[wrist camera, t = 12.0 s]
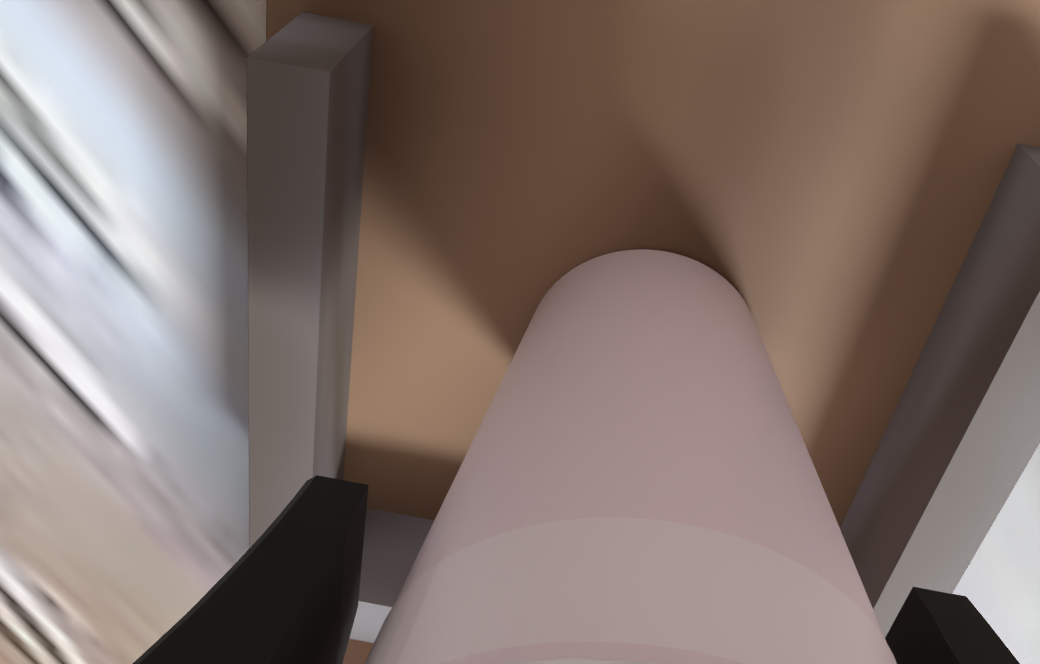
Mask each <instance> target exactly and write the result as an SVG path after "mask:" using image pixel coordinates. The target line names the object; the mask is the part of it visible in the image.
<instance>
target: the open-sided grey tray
mask: <svg viewBox="0 0 1040 664" xmlns="http://www.w3.org/2000/svg"><path fill="white" fill-rule="evenodd" d="M247 180H248V358H249V537H250V547H251V546H252V545H253V544H254V543H255V542H256V541H257V540H258V539H259V537H260V536H261V535H262V534H263V533H264V532H265V531H266V530H267V528H268V527H269V526H270V525H271V524H272V523H273V522H274V520H275V519H276V518H277V517H278V516H279V515H280V513H281V512H282V511H283V510H284V508H285V507H286V506H287V505H288V504H289V502H290V501H291V500H292V499H293V498H294V496H295V495H296V494H297V492H298V491H299V490H300V489H301V487H302V486H303V485H304V483H305V482H306V481H307V480H309V479H311V478H312V477H314V476H316V475H318V476H324V477H329V478H334V479H340V480H345V481H350V482H356V483H361V484H366V485H368V497H367V508H366V520H365V532H364V543H363V555H362V567H361V578H360V590H359V602H358V608H357V612H356V616H355V619H354V623H353V627H352V630H351V634H350V638H349V641H348V645H347V649H346V653H345V656H344V660H343V663H342V664H365V662H366V660H367V657H368V655H369V653H370V651H371V649H372V647H373V644H374V642H375V640H376V638H377V636H378V634H379V631H380V629H381V627H382V625H383V623H384V620H385V619H386V617H387V615H388V614H389V612H390V611H391V609H392V607H393V605H394V603H395V601H396V599H397V597H398V595H399V593H400V591H401V588H402V586H403V584H404V582H405V580H406V578H407V576H408V574H409V572H410V570H411V568H412V566H413V564H414V562H415V560H416V557H417V555H418V553H419V551H420V549H421V547H422V545H423V543H424V541H425V539H426V537H427V535H428V533H429V531H430V528H431V526H432V524H433V522H434V520H435V518H436V516H437V514H438V512H439V510H440V508H441V506H442V504H443V502H444V500H445V497H446V495H447V493H448V491H449V489H450V487H451V485H452V483H453V481H454V479H455V477H456V475H457V473H458V471H459V468H460V466H461V464H462V462H463V460H464V458H465V456H466V454H467V452H468V450H469V448H470V446H471V444H472V442H473V440H474V437H475V435H476V433H477V431H478V429H479V427H480V425H481V423H482V421H483V419H484V417H485V415H486V413H487V411H488V408H489V406H490V404H491V402H492V400H493V398H494V396H495V394H496V392H497V390H498V388H499V386H500V384H501V382H502V380H503V377H504V375H505V373H506V371H507V369H508V367H509V365H510V363H511V361H512V359H513V357H514V355H515V353H516V351H517V348H518V346H519V344H520V342H521V340H522V338H523V336H524V334H525V332H526V330H527V328H528V326H529V324H530V322H531V320H532V317H533V315H534V313H535V311H536V309H537V307H538V305H539V304H540V302H541V300H542V298H543V297H544V296H545V294H546V293H547V292H548V290H549V289H550V288H551V287H552V286H553V285H554V284H555V283H556V282H557V281H558V280H559V279H560V278H561V277H562V276H563V275H565V274H566V273H568V272H569V271H570V270H572V269H573V268H575V267H577V266H579V265H580V264H582V263H584V262H586V261H589V260H591V259H593V258H596V257H599V256H602V255H605V254H609V253H613V252H618V251H625V250H637V249H645V250H659V251H666V252H671V253H675V254H679V255H682V256H686V257H688V258H691V259H693V260H696V261H698V262H700V263H702V264H704V265H706V266H708V267H709V268H711V269H712V270H714V271H716V272H717V273H718V274H720V275H721V276H722V277H724V278H725V279H726V280H727V281H728V282H729V283H730V284H731V285H732V286H733V287H734V288H735V289H736V290H737V291H738V293H739V294H740V295H741V297H742V298H743V299H744V301H745V302H746V304H747V306H748V308H749V310H750V312H751V314H752V316H753V319H754V321H755V324H756V326H757V329H758V331H759V333H760V336H761V338H762V341H763V343H764V346H765V348H766V350H767V353H768V355H769V358H770V360H771V363H772V365H773V367H774V370H775V372H776V375H777V377H778V380H779V382H780V384H781V387H782V389H783V392H784V394H785V397H786V399H787V401H788V404H789V406H790V409H791V411H792V414H793V416H794V418H795V421H796V423H797V426H798V428H799V431H800V433H801V435H802V438H803V440H804V443H805V445H806V448H807V450H808V452H809V455H810V457H811V460H812V462H813V465H814V467H815V469H816V472H817V474H818V477H819V479H820V482H821V484H822V486H823V489H824V491H825V494H826V496H827V499H828V501H829V503H830V506H831V508H832V511H833V513H834V516H835V518H836V520H837V523H838V525H839V528H840V530H841V533H842V535H843V537H844V540H845V542H846V545H847V547H848V550H849V552H850V554H851V557H852V559H853V562H854V564H855V567H856V569H857V571H858V574H859V576H860V579H861V581H862V584H863V586H864V588H865V591H866V593H867V596H868V598H869V601H870V603H871V605H872V608H873V610H874V613H875V615H876V618H877V620H878V622H879V625H880V627H881V630H882V632H883V635H884V637H886V635H887V633H888V632H889V630H890V628H891V626H892V624H893V622H894V621H895V619H896V617H897V615H898V613H899V611H900V610H901V608H902V606H903V604H904V602H905V600H906V599H907V597H908V595H909V593H910V591H911V589H912V588H913V587H918V588H923V589H929V590H934V591H939V592H945V593H950V594H952V593H953V591H954V589H955V588H956V586H957V584H958V582H959V581H960V579H961V577H962V576H963V574H964V572H965V570H966V569H967V567H968V565H969V564H970V562H971V560H972V558H973V557H974V555H975V553H976V552H977V550H978V548H979V546H980V545H981V543H982V541H983V539H984V538H985V536H986V534H987V533H988V531H989V529H990V527H991V526H992V524H993V522H994V521H995V519H996V517H997V515H998V514H999V512H1000V510H1001V508H1002V507H1003V505H1004V503H1005V502H1006V500H1007V498H1008V496H1009V495H1010V493H1011V491H1012V490H1013V488H1014V486H1015V484H1016V483H1017V481H1018V479H1019V478H1020V476H1021V474H1022V472H1023V471H1024V469H1025V467H1026V465H1027V464H1028V462H1029V460H1030V459H1031V457H1032V455H1033V453H1034V452H1035V450H1036V448H1037V447H1038V445H1039V443H1040V0H267V14H266V42H265V43H264V44H263V45H262V46H260V47H259V48H258V49H257V50H256V51H254V52H253V53H252V54H251V55H249V56H248V57H247Z"/></svg>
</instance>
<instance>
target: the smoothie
mask: <svg viewBox="0 0 1040 664" xmlns="http://www.w3.org/2000/svg"><path fill="white" fill-rule="evenodd" d="M365 664H897V663H896V660H895V657H894V655H893V653H892V652H891V650H890V648H889V646H888V644H887V642H886V639H885V637H884V635H883V632H882V630H881V627H880V625H879V622H878V620H877V618H876V615H875V613H874V610H873V608H872V605H871V603H870V601H869V598H868V596H867V593H866V591H865V588H864V586H863V584H862V581H861V579H860V576H859V574H858V571H857V569H856V567H855V564H854V562H853V559H852V557H851V554H850V552H849V550H848V547H847V545H846V542H845V540H844V537H843V535H842V533H841V530H840V528H839V525H838V523H837V520H836V518H835V516H834V513H833V511H832V508H831V506H830V503H829V501H828V499H827V496H826V494H825V491H824V489H823V486H822V484H821V482H820V479H819V477H818V474H817V472H816V469H815V467H814V465H813V462H812V460H811V457H810V455H809V452H808V450H807V448H806V445H805V443H804V440H803V438H802V435H801V433H800V431H799V428H798V426H797V423H796V421H795V418H794V416H793V414H792V411H791V409H790V406H789V404H788V401H787V399H786V397H785V394H784V392H783V389H782V387H781V384H780V382H779V380H778V377H777V375H776V372H775V370H774V367H773V365H772V363H771V360H770V358H769V355H768V353H767V350H766V348H765V346H764V343H763V341H762V338H761V336H760V333H759V331H758V329H757V326H756V324H755V321H754V319H753V316H752V314H751V312H750V310H749V308H748V306H747V304H746V302H745V301H744V299H743V298H742V297H741V295H740V294H739V293H738V291H737V290H736V289H735V288H734V287H733V286H732V285H731V284H730V283H729V282H728V281H727V280H726V279H725V278H724V277H722V276H721V275H720V274H718V273H717V272H716V271H714V270H712V269H711V268H709V267H708V266H706V265H704V264H702V263H700V262H698V261H696V260H693V259H691V258H688V257H686V256H682V255H679V254H675V253H671V252H666V251H659V250H645V249H637V250H625V251H618V252H613V253H609V254H605V255H602V256H599V257H596V258H593V259H591V260H589V261H586V262H584V263H582V264H580V265H579V266H577V267H575V268H573V269H572V270H570V271H569V272H568V273H566V274H565V275H563V276H562V277H561V278H560V279H559V280H558V281H557V282H556V283H555V284H554V285H553V286H552V287H551V288H550V289H549V290H548V292H547V293H546V294H545V296H544V297H543V298H542V300H541V302H540V304H539V305H538V307H537V309H536V311H535V313H534V315H533V317H532V320H531V322H530V324H529V326H528V328H527V330H526V332H525V334H524V336H523V338H522V340H521V342H520V344H519V346H518V348H517V351H516V353H515V355H514V357H513V359H512V361H511V363H510V365H509V367H508V369H507V371H506V373H505V375H504V377H503V380H502V382H501V384H500V386H499V388H498V390H497V392H496V394H495V396H494V398H493V400H492V402H491V404H490V406H489V408H488V411H487V413H486V415H485V417H484V419H483V421H482V423H481V425H480V427H479V429H478V431H477V433H476V435H475V437H474V440H473V442H472V444H471V446H470V448H469V450H468V452H467V454H466V456H465V458H464V460H463V462H462V464H461V466H460V468H459V471H458V473H457V475H456V477H455V479H454V481H453V483H452V485H451V487H450V489H449V491H448V493H447V495H446V497H445V500H444V502H443V504H442V506H441V508H440V510H439V512H438V514H437V516H436V518H435V520H434V522H433V524H432V526H431V528H430V531H429V533H428V535H427V537H426V539H425V541H424V543H423V545H422V547H421V549H420V551H419V553H418V555H417V557H416V560H415V562H414V564H413V566H412V568H411V570H410V572H409V574H408V576H407V578H406V580H405V582H404V584H403V586H402V588H401V591H400V593H399V595H398V597H397V599H396V601H395V603H394V605H393V607H392V609H391V611H390V612H389V614H388V615H387V617H386V619H385V620H384V623H383V625H382V627H381V629H380V631H379V634H378V636H377V638H376V640H375V642H374V644H373V647H372V649H371V651H370V653H369V655H368V657H367V660H366V662H365Z"/></svg>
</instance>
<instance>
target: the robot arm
mask: <svg viewBox="0 0 1040 664" xmlns="http://www.w3.org/2000/svg"><path fill="white" fill-rule="evenodd" d="M367 497H368V485H366V484H361V483H356V482H350V481H345V480H340V479H334V478H329V477H324V476H318V475H316V476H314V477H312V478H311V479H309V480H307V481H306V482H305V483H304V485H303V486H302V487H301V489H300V490H299V491H298V492H297V494H296V495H295V496H294V498H293V499H292V500H291V501H290V502H289V504H288V505H287V506H286V507H285V508H284V510H283V511H282V512H281V513H280V515H279V516H278V517H277V518H276V519H275V520H274V522H273V523H272V524H271V525H270V526H269V527H268V528H267V530H266V531H265V532H264V533H263V534H262V535H261V536H260V537H259V539H258V540H257V541H256V542H255V543H254V544H253V545H252V546H251V547H250V549H249V550H248V551H247V552H246V553H245V554H244V555H243V556H242V557H241V558H240V560H239V561H238V562H237V563H236V564H235V565H234V566H233V567H232V568H231V569H230V570H229V571H228V572H227V573H226V574H225V575H224V576H223V577H222V578H221V579H220V580H219V581H218V582H217V583H216V584H215V585H214V586H213V587H212V588H211V589H210V590H209V591H208V593H207V594H206V595H205V596H204V597H203V598H202V599H201V600H200V601H199V602H198V603H197V604H196V605H195V606H194V607H193V608H192V609H191V610H190V611H189V612H188V613H187V614H186V615H185V616H184V617H183V618H182V619H180V620H179V621H178V622H177V623H176V624H175V625H174V626H173V627H172V628H171V629H170V630H169V631H167V632H166V633H165V634H164V635H163V636H162V637H161V638H160V639H159V640H158V641H157V642H156V643H155V644H153V645H152V646H151V647H150V648H149V649H148V650H147V651H146V652H145V653H144V654H143V655H142V656H140V657H139V658H138V659H137V660H136V661H135V662H134V663H133V664H342V663H343V660H344V656H345V653H346V649H347V645H348V641H349V638H350V634H351V630H352V627H353V623H354V619H355V616H356V612H357V608H358V602H359V590H360V578H361V567H362V555H363V543H364V532H365V520H366V508H367ZM885 639H886V642H887V644H888V646H889V648H890V650H891V652H892V653H893V655H894V657H895V660H896V663H897V664H1019V662H1018V661H1017V660H1016V658H1015V657H1014V656H1013V655H1012V653H1011V652H1010V651H1009V649H1008V648H1007V647H1006V646H1005V644H1004V643H1003V642H1002V640H1001V639H1000V638H999V637H998V635H997V634H996V633H995V632H994V630H993V629H992V628H991V626H990V625H989V624H988V623H987V621H986V620H985V619H984V618H983V616H982V615H981V614H980V613H979V612H978V610H977V609H976V608H975V607H974V605H973V604H972V603H971V602H970V601H969V599H968V598H967V597H966V596H961V595H956V594H950V593H945V592H939V591H934V590H929V589H923V588H918V587H913V588H912V589H911V591H910V593H909V595H908V597H907V599H906V600H905V602H904V604H903V606H902V608H901V610H900V611H899V613H898V615H897V617H896V619H895V621H894V622H893V624H892V626H891V628H890V630H889V632H888V633H887V635H886V637H885Z"/></svg>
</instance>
